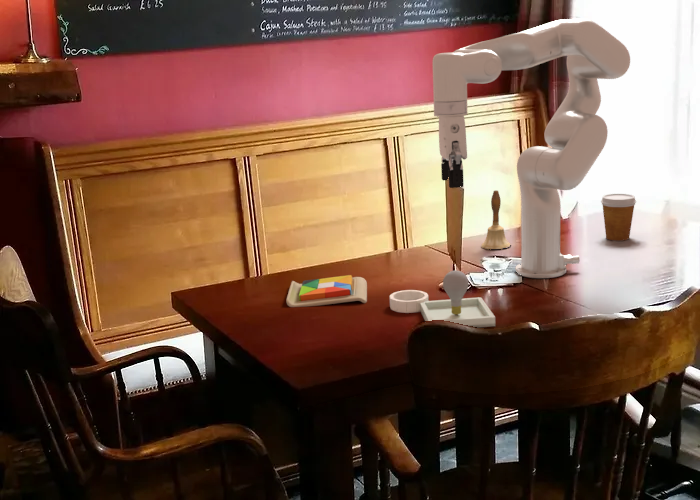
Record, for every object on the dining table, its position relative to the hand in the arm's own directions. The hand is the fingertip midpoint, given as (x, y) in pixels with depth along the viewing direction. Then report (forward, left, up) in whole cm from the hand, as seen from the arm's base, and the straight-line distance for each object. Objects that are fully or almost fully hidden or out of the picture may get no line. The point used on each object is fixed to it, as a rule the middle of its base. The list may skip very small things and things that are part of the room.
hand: (452, 183), depth 204 cm
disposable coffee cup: (-54, -40, -26) cm, 72 cm away
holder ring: (+12, +8, -26) cm, 30 cm away
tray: (+3, +18, -26) cm, 32 cm away
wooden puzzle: (+30, -6, -27) cm, 41 cm away
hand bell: (-19, -40, -27) cm, 52 cm away
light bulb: (+3, +18, -26) cm, 32 cm away
